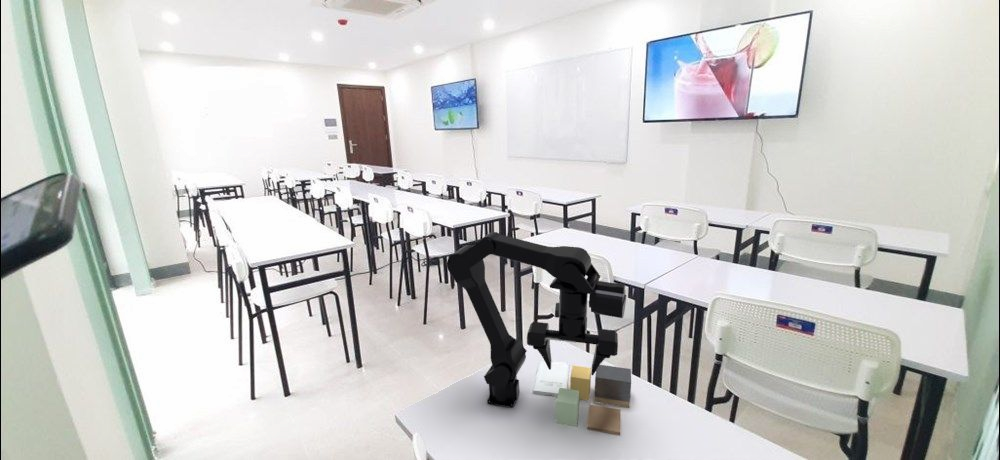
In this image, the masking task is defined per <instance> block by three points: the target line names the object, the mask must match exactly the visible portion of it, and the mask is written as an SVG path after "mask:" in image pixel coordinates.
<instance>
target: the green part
mask: <svg viewBox="0 0 1000 460" xmlns="http://www.w3.org/2000/svg"><path fill="white" fill-rule="evenodd" d="M579 407H580V399H579V391H577V390H571V389H570V388H567V389H564V388H559V392H558V397H557V398H556V411H555V412H556V415H555V416H556V418H555V419H556V424H558V425H564V426H570V427H575V428H576V427H578V420H579V410H580V408H579Z"/></svg>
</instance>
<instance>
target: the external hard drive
mask: <svg viewBox="0 0 1000 460" xmlns="http://www.w3.org/2000/svg"><path fill="white" fill-rule="evenodd" d="M569 373H570V363H569V362H563V361H562V362H561V361H552V360H551V370H549V369H548V367H547V365H546V363H545V361H544V359H543V360H542V359H540V360H539V361H538V365H537V370H536V375H535V379H534V384H533V389H532V394H534V395H541V396H552V397H558V392H559V388H564V389H568V384H569V376H570V375H569Z"/></svg>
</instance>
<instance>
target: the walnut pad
mask: <svg viewBox="0 0 1000 460" xmlns="http://www.w3.org/2000/svg"><path fill="white" fill-rule="evenodd" d="M621 412H622V411H621V409H620V408H616V407H615V408H614V407H608V406H602V405H597V404H589V406H588V415H587V423H586V430H589V431H594V432H600V433H604V434H611V435H616V436H621V426H622V425H621V422H622V421H621V415H622V414H621Z"/></svg>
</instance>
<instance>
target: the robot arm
mask: <svg viewBox="0 0 1000 460" xmlns="http://www.w3.org/2000/svg"><path fill="white" fill-rule="evenodd" d="M490 255H493V256H495V257H500V258H503V259H507V260H509V261H510V260H511V261H514V262H517V263H521V264H525V265H529V266H533V267H536V268H539V269H542V270H544V271H546V272H547V273H548V274H550V275H551V276H552V278H554V279H553V280H552V281H551V283H550V284H549V288H550V289H555V290H559V297H558V298H559V302H555V311H554V318H558V330H555V329H554V330H553V329H549V328H550V325H549V323H548V322H540V321H532V322H531V323H530V325H529V328H528V331H527V334H526V345H528V346H530V347H532V348H533V349H534V350H537V352H538V353H539V354H540V356H541V357H542V359H543V360H544V361H545V363H546V365H547V367H548V369H549V370H551V361H552V353H551V344H550V343H551V342H550V341H558V342H565V343H575V344H576V343H578V344H579V343H580V344H589V345H595V346H594V347H595V349H594V353H593V358H592V364H591V376H594V375H595V374H596V370H597V368H598V366H599V365H602V363H603V362H604V360H605V359H611V357H615V356H617V355H618V351H619V350H618V349H619V344H618V343H619V337H618V332H617V331H616V330H614V329H605V328H598V334H594V333H593V334H592V333H587V328H588V317H587V316H588V315H587V314H588V307H589V308H590V312H591V313H593V314H594V315H595V314H596V315H602V316H605V317H606V316H607V317H611V318H612V317H613V318H618V319H624V316H625V310H626V303H627V295H626V284H625V283H623V282H622V283H621V282H620V283H619V282H608V281H602V280H600V279H601V275H600V274H599V272H598V271H597V269H596V268H595V266H594V265H593V264H592V258H591V255H590V254H589V253H588V251H587V250H586V249H585V248H583V247H579V246H565V245H564V246H563V245H562V246H547V245H543V244H539V243H534V242H530V241H527V240H524V239H519V238H516V237H511V236H507V235H504V234H500V233H499V232H496V231H492V232H489V233H488V234H486V235H485V236H483V237H482V238H481V239H480V240H479V241H478V242H476V243H474V244H473V245H472V244H467V245H464V246H463V247H461V248H459V249H457V251H455V252H453V253H452V254H451V255H449V257H448V258H447V261H446V269H447V270H448V272H449V274H450V275H451V277H452V278H453V280H454V282H455V283H456V284H457V285H459V286H460V287H462V288H463V290H465V291H466V293H467V295H468V298H469V300H470V302H471V305H472V306H473V308H474V311H475V313H476V316H477V318H478V319H479V322H480V324H481V326H482V329H483V330H484V331H483V332H484V333H485V336H486V338H487V340H488V342H489V344H490V362H491V366H490V368H489V369H488V371H487V372H486V373H485V375H484V376H483V377H484V381H485V383H486V384H487V385H488V394H489V395H488V396H489V397H488V398H487V404H488V405H489V404H490V405H495V406H501V407H506V408H514V406H515V404H516V401H518V399H519V397H520V380H519V379H518V376H517V375H518V373H519V372H520V371H521V368H522V367H523V365H524V364H525V362H526V359H527V355H526V353H527V352H528V351H527V349H526V348H525V346H524V344H523V342H522V338H521V337H518V338H514V337H513V336H512V335H510V333H509V332H508V330H507V329H508V328H507V327H506V325H505V323H504V320H503V317H502V316H501V313H500V311H499V309H498V307H497V304H496V303H495V300H494V297H493V296H492V293H491V290H490V288H489V286H488V284H487V282H486V265H485V261H484V259H485V258H486V257H488V256H490ZM586 277H587V278H586ZM588 296H589V297H588Z"/></svg>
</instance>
